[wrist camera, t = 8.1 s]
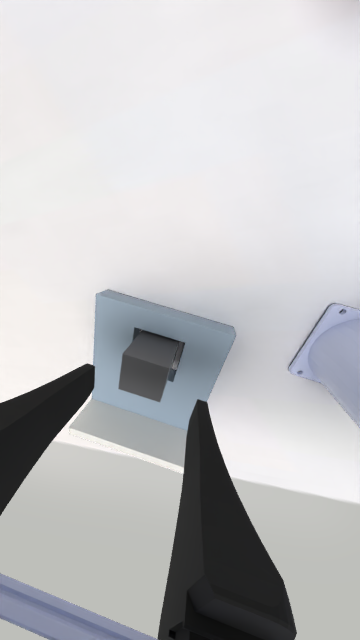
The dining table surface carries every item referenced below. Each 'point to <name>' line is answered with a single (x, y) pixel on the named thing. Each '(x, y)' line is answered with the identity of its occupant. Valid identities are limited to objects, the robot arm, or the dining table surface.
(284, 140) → the dining table surface
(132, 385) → the plug
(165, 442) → the outlet plate
